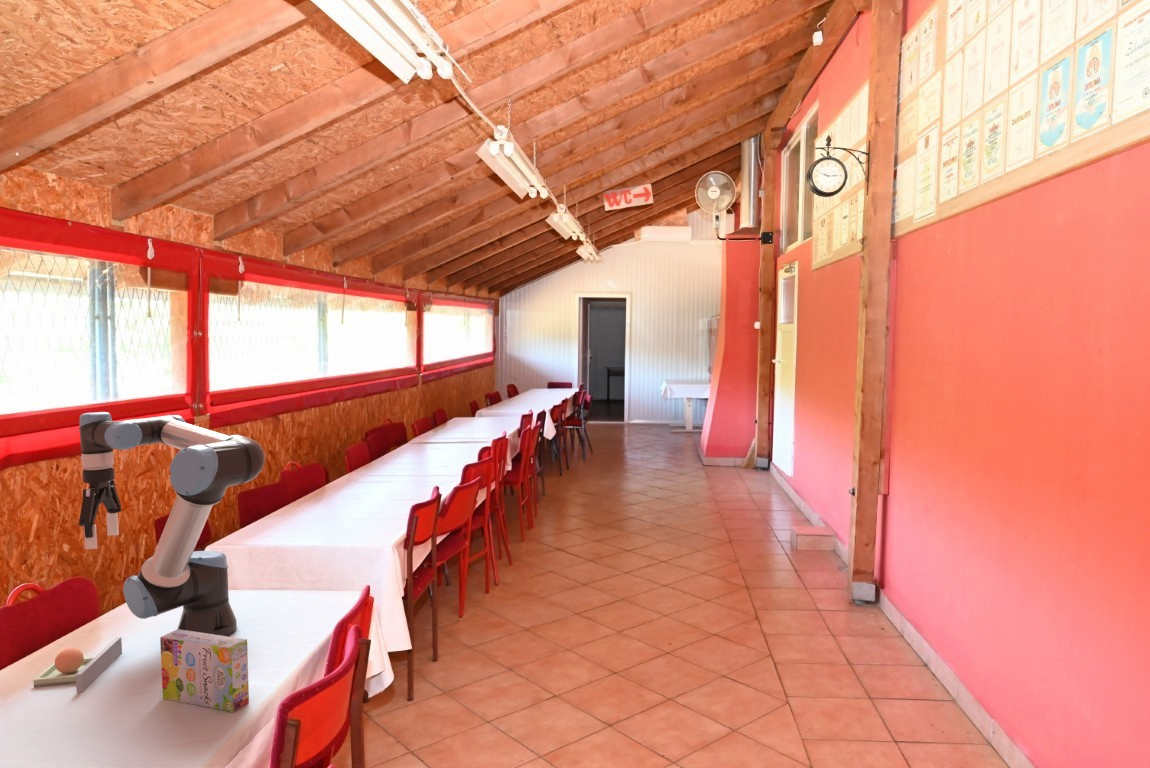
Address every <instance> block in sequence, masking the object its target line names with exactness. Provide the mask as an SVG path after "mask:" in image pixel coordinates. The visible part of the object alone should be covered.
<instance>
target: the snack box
mask: <svg viewBox="0 0 1150 768" xmlns="http://www.w3.org/2000/svg"><path fill="white" fill-rule="evenodd" d="M159 641H160V658H161V659H160V660H161V661H160V662H161V664H160V665H161V684H162V685H161V686H162V687H161V690H162V699H163V700H164V699H165V700H168V701H169V700H170V701H174V702H175V701H176V702H181V703H183V704H184V703H186V704H190V705H194V706H200V707H205V708H210V709H214V710H215V709H216V710H220V711H225V712H231V713H234V712H235V711H237V710H239V709H241V708H243V707H244V706H246V705H247V704H249V703H250V696H249V695H250V691H249V689H250V688H249V661H248V660H249V659H248V658H249V657H248V639H246V638H240V637H233V636H221V635H214V634H207V633H200V632H194V631H187V630H180V629H178V628H177V629H175V630H173V631H171V632H168V633H166V634H164V635H161V636H160V639H159Z"/></svg>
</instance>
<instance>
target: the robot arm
mask: <svg viewBox="0 0 1150 768" xmlns="http://www.w3.org/2000/svg"><path fill="white" fill-rule="evenodd" d="M78 429H79V439H80V451H81V456H80V457H79V459H80V460H81V467H82V468H83V470H81V471H82V473H81V474H82V482H83V483H84V484H88V485H89V486H88V488H83V490H82V502H81V509H80V514H79V520H78V526H79V527H83V535H84V550H94V549H95V550H96V549H98V537H97V524H95V522H96V518H97V514H98V512H99V507H100V505H101V504H102V503H103V505H104V507H105V510H106V511H107V513H106V531H107V537H109V536H111V537H112V536H115V537H116V536H119V535H120V533H119V531H120V530H119V529H120V528H119V517H118V516H119V515H118V514H119V513H121V512H122V504H121V501H120V499H119V495H118V492H117V488H116V481H115V478H116V477H115V467H114V466H113V465H115V459H114V450H119V451H124V450H131V449H134V448H135V447H140V446H148V445H155V444H162V445H166V446H170V447H172V448H174V449H178V450H179V451H178V452H177V453H176V454H175V455H174V456H173V458H172V461H171V462H170V466H169V473H170V476H169V482H170V483H171V487H172V488H173V491H174V492H175V494H176V498H175V501H174V503H173V505H172V508H171V511H170V513H169V516H168V518H167V520H166V523H165V525H164V528H163V529H162V530H163V531H162V532H161V535H160V538H159V540H158V543H157V545H156V547H155V551H154V553H153V555H152V556H151V557H149V558H148V559H146V560H145V561H144V563H142V566H141V568H140V570H139V573H138V574H136V575H131V576H129V577H128V578H126V579H125V581H124V583H123V596H124V600H125V603H126V605H127V607H128V609H129V610H130V612H131V613H132V614H133V616H135V617H137V618H138V619H144V620H146V619H149V618H152V617H157V616H159V615H161V614H164V613H167V612H169V611H172V610H175V609H177V608H181V607H182V608H183V609H182V612H181V617H180V619H179V622H178V626H177V629H180V630H187V631H194V632H200V633H207V634H214V635H221V636H227V637H229V636H230V635H231V634H233V633H234V632H235V631H236V630H237V628H238V627H237V618H236V616H235V613H234V611H233V609H232V606H231V604H230V598H229V596H230V595H229V578H228V576H229V575H228V569H229V567H228V561H227V556H226V555H225V554H224V553H223V552H220V551H215V550H197V551H196V549H195V548H196V546H197V543H198V541H199V539H200V537H201V534H202V532H203V529H204V528H205V525H206V522H207V521H208V517H209V515H210V513H211V511H212V508H213V506H215V505H217V504H218V503H220V502H222V500H223V498H224V496H225V494H226V492H227V489H229V487H234V486H237V485H243V484H247V483H248V482H251V481H252V480H254V479H256V478H257V477H258V476H259V475H260V474H261V473H262V470H263V469H264V467H265V463H266V454H265V451H264V448H263V447H262V446H261V444H260V443H259V442H258V441H256V439H255V440H254V439H253V438H250V437H247V436H243V435H241V434H234V435H233V434H232V435H227V434H224V433H220V432H218V431H214V430H210V429H208V428H204V427H201V426H200V427H199V426H197V425H193V424H191V423H187V422H186V420H185V419H184V418H183V417H182V416H181V415H178V414H174V415H171V414H167V415H162V416H161V415H160V416H155V417H154V416H153V417H145V418H135V419H125V420H113V419H112V415H111V413H110V412H106V411H98V412H97V411H95V412H86V413H85V412H84V413H82V414H80V416H79V426H78ZM113 449H114V450H113ZM194 550H195V551H194Z"/></svg>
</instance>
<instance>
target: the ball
mask: <svg viewBox="0 0 1150 768" xmlns="http://www.w3.org/2000/svg"><path fill="white" fill-rule="evenodd" d="M84 656H85V655H84V653H83V652H82V651H81V650H80V649H79V648H76V647H68V648H67V647H66V648H65V649H62V650H61V651H60V652H59V653H58V654H57V655H56V657H55V659H54V662H55V667H56V669H57V670H58V671H59V672H61V673H72V672H74V671H76V670H77V669H79V668H80V666H81V665H82V663H83V660H84V658H85V657H84Z"/></svg>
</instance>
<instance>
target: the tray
mask: <svg viewBox="0 0 1150 768" xmlns="http://www.w3.org/2000/svg"><path fill="white" fill-rule="evenodd" d="M94 657H95V656H91V657H84V660H83V663H82V665H81V666H80V668H79V669H77V670H76V671H74V672H72V673H61V672H59V671H58V670H57V669H56V667H55V661H54V662H53V663H52V664H50V665H49V666H48V667H47V668H46V669H44V670H43V671H42V672H41V673H39V674H38V675H37V676H36V677H35V678H34V679H33V688H38V686H40V687H48V686H51V685H52V686H61V685H63V686H64V685H72V684H76V674H77V673H78V672H79V671H80V670H81V669H82V668H84V667H85V666H86V665H87V664H88V663H89V662H90V661H91V660H92V659H93V658H94ZM52 686H51V687H52Z"/></svg>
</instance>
